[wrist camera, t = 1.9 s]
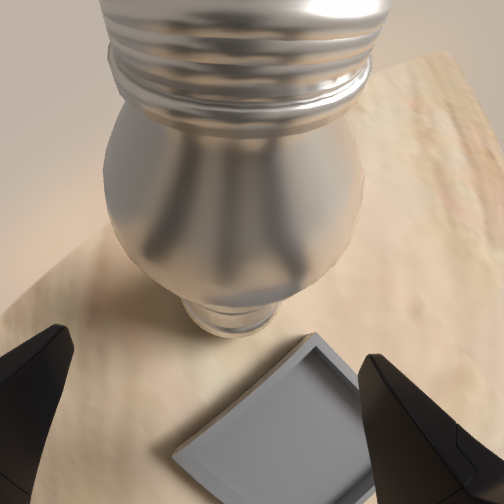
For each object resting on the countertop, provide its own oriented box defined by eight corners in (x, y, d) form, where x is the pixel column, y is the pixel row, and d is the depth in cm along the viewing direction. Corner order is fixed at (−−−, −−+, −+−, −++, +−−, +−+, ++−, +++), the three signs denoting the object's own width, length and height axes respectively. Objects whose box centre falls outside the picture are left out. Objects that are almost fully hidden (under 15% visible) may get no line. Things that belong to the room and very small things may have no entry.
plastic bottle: (205, 354, 20) (-91, 361, 1) (171, 264, 21) (29, -28, 2) (293, 318, 21) (573, 120, 2) (254, 232, 23) (318, -74, 4)
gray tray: (292, 538, 15) (298, 552, 13) (177, 446, 17) (171, 457, 15) (406, 436, 18) (421, 441, 16) (307, 334, 20) (316, 332, 18)
